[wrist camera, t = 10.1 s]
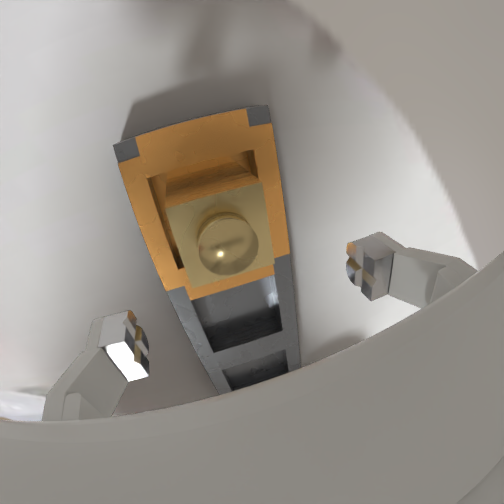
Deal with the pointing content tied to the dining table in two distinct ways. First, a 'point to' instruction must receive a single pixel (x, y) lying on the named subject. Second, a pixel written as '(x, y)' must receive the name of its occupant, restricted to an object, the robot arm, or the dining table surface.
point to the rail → (230, 289)
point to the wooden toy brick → (219, 222)
